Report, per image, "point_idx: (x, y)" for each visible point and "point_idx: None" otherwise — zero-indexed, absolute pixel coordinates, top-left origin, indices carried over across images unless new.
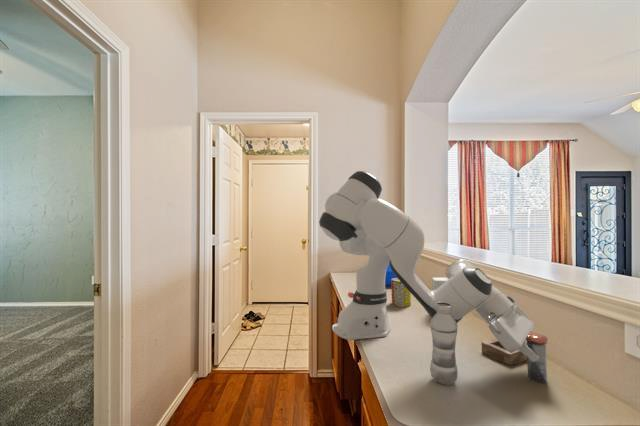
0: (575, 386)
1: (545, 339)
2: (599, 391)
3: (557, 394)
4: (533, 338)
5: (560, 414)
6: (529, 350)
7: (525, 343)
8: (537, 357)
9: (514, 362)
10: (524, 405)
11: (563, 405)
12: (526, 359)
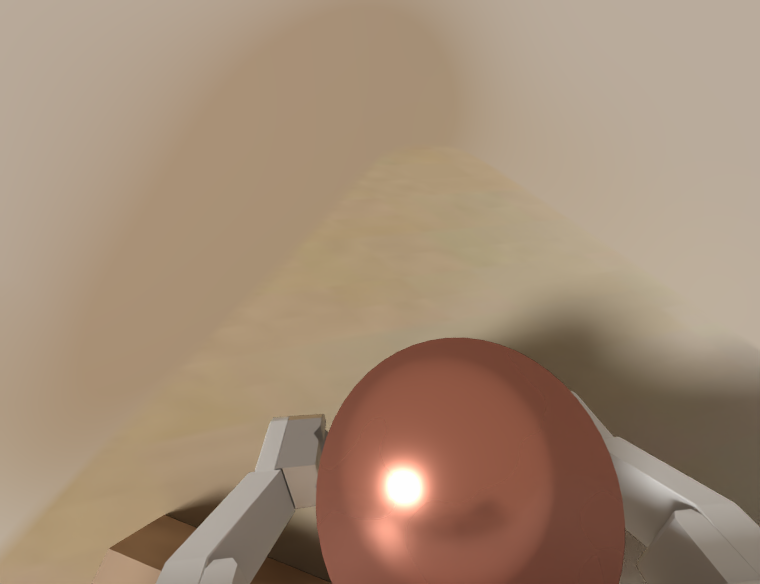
0: (355, 283)
1: (490, 352)
2: (332, 220)
3: (485, 321)
4: (599, 493)
5: (624, 288)
6: (660, 470)
7: (720, 550)
8: (577, 398)
9: (302, 576)
10: (693, 397)
11: (552, 291)
12: (196, 528)
